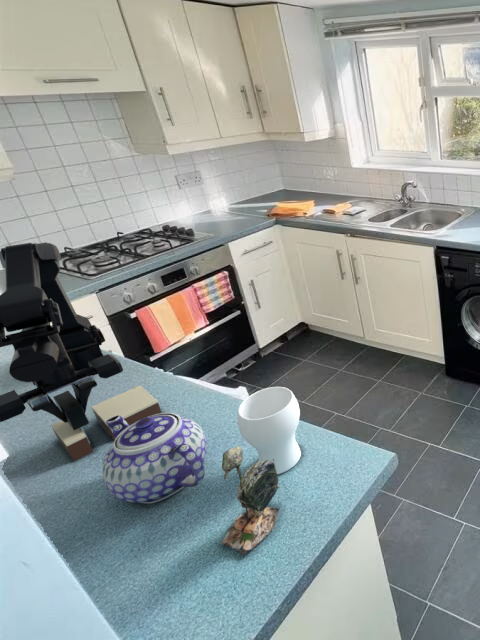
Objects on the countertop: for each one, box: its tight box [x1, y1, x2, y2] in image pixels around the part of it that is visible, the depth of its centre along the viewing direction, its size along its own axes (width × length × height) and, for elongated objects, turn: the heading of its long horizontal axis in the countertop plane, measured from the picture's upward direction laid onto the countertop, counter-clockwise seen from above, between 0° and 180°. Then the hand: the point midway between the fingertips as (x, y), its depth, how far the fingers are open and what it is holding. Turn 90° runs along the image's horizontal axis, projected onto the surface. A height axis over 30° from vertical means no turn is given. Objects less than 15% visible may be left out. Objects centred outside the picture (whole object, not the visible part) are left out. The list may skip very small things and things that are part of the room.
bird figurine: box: [221, 445, 280, 555], centre depth 72 cm, size 8×11×20 cm
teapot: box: [102, 412, 208, 504], centre depth 81 cm, size 25×15×15 cm, turn 66°
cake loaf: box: [91, 385, 163, 442], centre depth 97 cm, size 9×10×4 cm
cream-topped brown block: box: [50, 420, 94, 462], centre depth 90 cm, size 3×10×4 cm, turn 58°
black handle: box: [52, 390, 92, 445], centre depth 90 cm, size 2×8×10 cm, turn 58°
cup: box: [236, 386, 302, 475], centre depth 85 cm, size 11×11×15 cm
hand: (74, 417), depth 90 cm, fingers closed on black handle, 2 cm apart
